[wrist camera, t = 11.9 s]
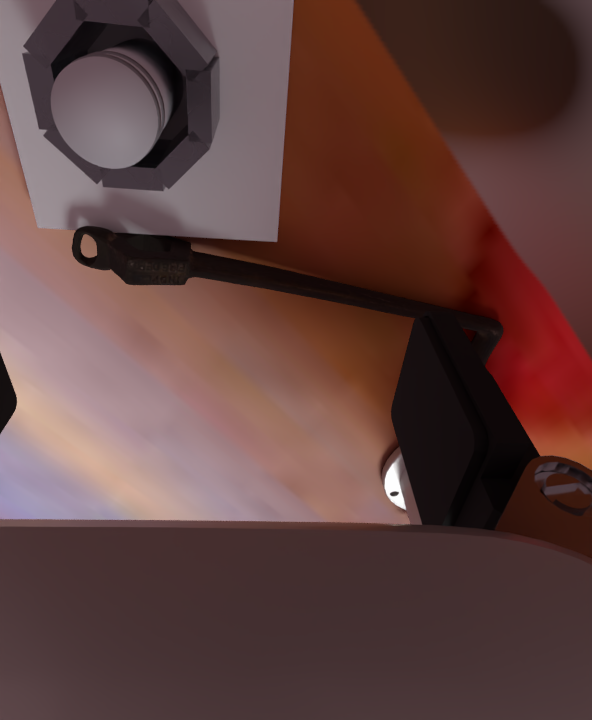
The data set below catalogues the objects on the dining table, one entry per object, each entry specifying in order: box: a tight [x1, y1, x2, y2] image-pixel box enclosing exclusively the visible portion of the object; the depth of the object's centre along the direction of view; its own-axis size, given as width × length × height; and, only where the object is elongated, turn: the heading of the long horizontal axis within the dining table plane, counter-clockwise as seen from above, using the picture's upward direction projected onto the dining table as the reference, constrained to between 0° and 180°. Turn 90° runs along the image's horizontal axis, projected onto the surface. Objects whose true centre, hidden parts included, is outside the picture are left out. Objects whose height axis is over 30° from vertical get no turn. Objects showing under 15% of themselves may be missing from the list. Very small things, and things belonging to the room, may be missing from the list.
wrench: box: [72, 226, 503, 366], centre depth 32 cm, size 5×5×30 cm
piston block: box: [0, 0, 294, 242], centre depth 21 cm, size 16×14×10 cm
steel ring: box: [22, 0, 220, 191], centre depth 21 cm, size 7×7×5 cm
